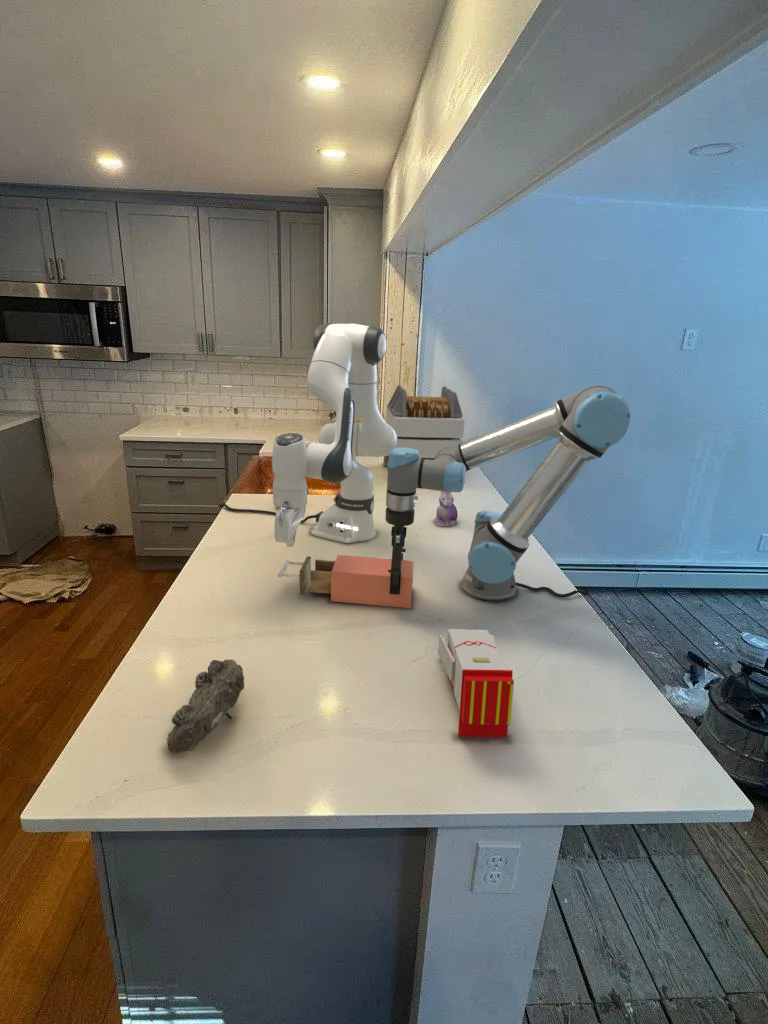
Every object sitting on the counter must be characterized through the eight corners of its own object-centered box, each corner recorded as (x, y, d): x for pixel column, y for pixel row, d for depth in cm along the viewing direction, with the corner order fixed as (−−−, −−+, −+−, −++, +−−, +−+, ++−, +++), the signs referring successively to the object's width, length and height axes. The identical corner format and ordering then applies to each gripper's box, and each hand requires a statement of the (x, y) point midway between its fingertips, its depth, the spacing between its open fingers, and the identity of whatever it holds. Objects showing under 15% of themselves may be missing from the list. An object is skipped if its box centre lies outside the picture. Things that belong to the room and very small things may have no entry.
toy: (488, 613, 130) (523, 677, 101) (484, 667, 133) (517, 744, 104) (435, 612, 130) (455, 676, 101) (432, 666, 133) (451, 743, 103)
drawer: (277, 592, 153) (277, 569, 150) (285, 576, 162) (285, 554, 159) (373, 600, 151) (375, 577, 149) (376, 584, 160) (378, 562, 158)
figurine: (442, 528, 206) (446, 489, 201) (428, 519, 214) (431, 481, 209) (464, 525, 210) (468, 486, 205) (449, 516, 218) (452, 479, 213)
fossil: (192, 660, 117) (244, 628, 112) (224, 691, 120) (276, 661, 115) (142, 746, 98) (202, 712, 93) (182, 779, 101) (242, 748, 96)
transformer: (382, 463, 289) (386, 382, 275) (445, 464, 293) (451, 384, 279) (390, 482, 257) (394, 392, 243) (460, 483, 261) (468, 394, 247)
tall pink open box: (330, 601, 152) (331, 571, 149) (336, 583, 162) (337, 554, 159) (410, 608, 151) (412, 578, 148) (411, 589, 161) (414, 561, 158)
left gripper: (292, 510, 138) (293, 562, 143) (309, 485, 158) (309, 531, 162) (267, 509, 139) (269, 560, 144) (287, 484, 158) (288, 530, 163)
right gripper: (413, 524, 136) (408, 605, 143) (415, 494, 158) (411, 566, 165) (382, 522, 136) (378, 603, 144) (389, 493, 158) (385, 564, 166)
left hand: (290, 544), depth 153 cm, fingers closed
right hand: (395, 583), depth 154 cm, fingers closed on tall pink open box, 11 cm apart
